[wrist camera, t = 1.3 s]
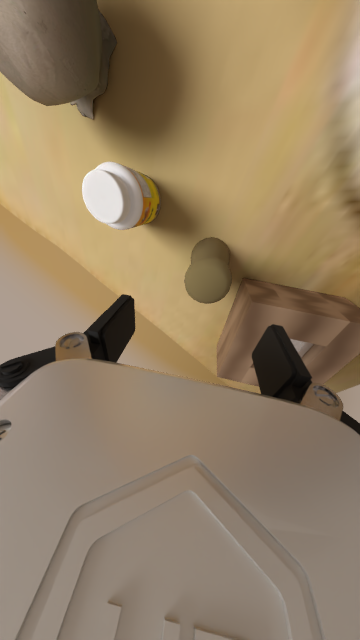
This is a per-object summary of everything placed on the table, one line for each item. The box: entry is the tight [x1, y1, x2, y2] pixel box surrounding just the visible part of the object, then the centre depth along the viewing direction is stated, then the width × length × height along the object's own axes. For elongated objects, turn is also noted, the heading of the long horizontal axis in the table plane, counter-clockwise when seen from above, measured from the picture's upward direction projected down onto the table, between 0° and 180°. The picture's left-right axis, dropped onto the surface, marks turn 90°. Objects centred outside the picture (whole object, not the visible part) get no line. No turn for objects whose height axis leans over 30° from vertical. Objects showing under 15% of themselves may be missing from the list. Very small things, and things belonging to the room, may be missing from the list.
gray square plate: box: [290, 339, 313, 358], centre depth 26 cm, size 7×7×1 cm
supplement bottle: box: [82, 162, 161, 230], centre depth 19 cm, size 6×6×10 cm
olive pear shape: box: [184, 237, 232, 304], centre depth 21 cm, size 6×6×11 cm
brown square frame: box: [217, 278, 360, 386], centre depth 28 cm, size 16×16×8 cm
